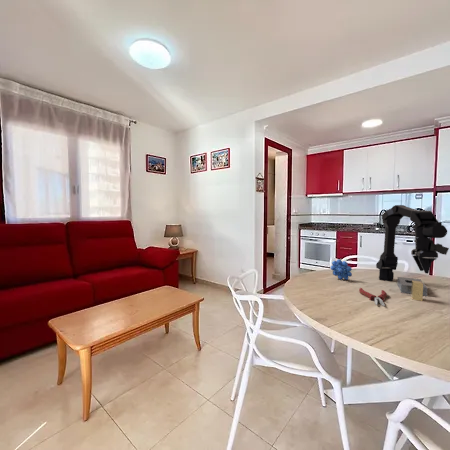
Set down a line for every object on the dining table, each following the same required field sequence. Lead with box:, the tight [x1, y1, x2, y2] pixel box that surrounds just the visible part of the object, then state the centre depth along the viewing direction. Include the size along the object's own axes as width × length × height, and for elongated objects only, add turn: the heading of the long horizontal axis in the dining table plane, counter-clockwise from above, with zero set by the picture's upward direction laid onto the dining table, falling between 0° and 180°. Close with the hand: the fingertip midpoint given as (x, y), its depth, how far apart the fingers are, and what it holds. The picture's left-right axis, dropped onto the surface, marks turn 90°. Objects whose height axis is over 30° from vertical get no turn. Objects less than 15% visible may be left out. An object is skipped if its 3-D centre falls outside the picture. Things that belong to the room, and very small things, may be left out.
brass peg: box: [410, 280, 424, 302], centre depth 111 cm, size 4×4×8 cm
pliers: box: [358, 287, 388, 307], centre depth 111 cm, size 12×20×3 cm, turn 159°
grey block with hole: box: [396, 276, 428, 297], centre depth 124 cm, size 10×16×4 cm, turn 150°
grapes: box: [330, 258, 353, 281], centre depth 141 cm, size 12×7×12 cm, turn 56°
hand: (424, 272), depth 110 cm, fingers open, 9 cm apart
